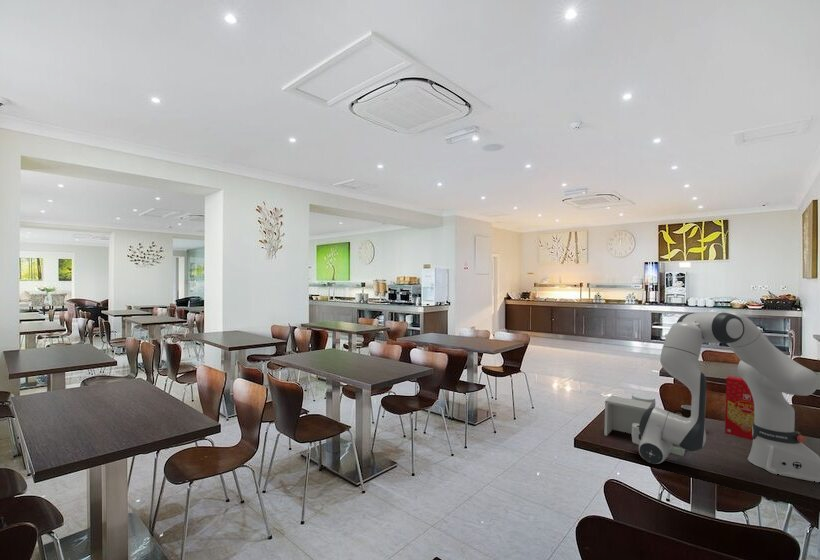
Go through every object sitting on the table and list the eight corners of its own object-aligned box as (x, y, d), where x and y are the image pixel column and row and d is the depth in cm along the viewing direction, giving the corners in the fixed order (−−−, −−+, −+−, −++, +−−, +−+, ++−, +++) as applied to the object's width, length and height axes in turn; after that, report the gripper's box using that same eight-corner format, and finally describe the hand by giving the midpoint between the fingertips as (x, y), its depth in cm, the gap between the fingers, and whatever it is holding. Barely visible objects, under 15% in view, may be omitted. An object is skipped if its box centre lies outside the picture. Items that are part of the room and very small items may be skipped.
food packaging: (725, 433, 181) (726, 377, 181) (727, 430, 184) (729, 376, 184) (768, 444, 170) (770, 384, 169) (770, 441, 173) (772, 382, 173)
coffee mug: (702, 429, 185) (703, 407, 185) (704, 435, 178) (704, 412, 178) (672, 423, 192) (673, 402, 192) (672, 429, 184) (673, 407, 184)
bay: (651, 437, 173) (652, 402, 173) (646, 445, 165) (647, 408, 165) (610, 428, 183) (611, 395, 183) (604, 435, 175) (605, 400, 175)
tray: (686, 447, 164) (686, 440, 164) (683, 456, 155) (683, 449, 155) (653, 439, 172) (654, 433, 172) (649, 447, 163) (649, 441, 163)
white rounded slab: (636, 422, 192) (636, 392, 192) (658, 428, 184) (659, 396, 184) (627, 427, 186) (628, 395, 186) (649, 433, 178) (650, 400, 178)
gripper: (693, 439, 140) (697, 429, 151) (628, 424, 154) (635, 416, 164) (692, 457, 140) (696, 446, 151) (627, 441, 154) (635, 431, 164)
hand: (664, 430), depth 158 cm, fingers open, 8 cm apart
